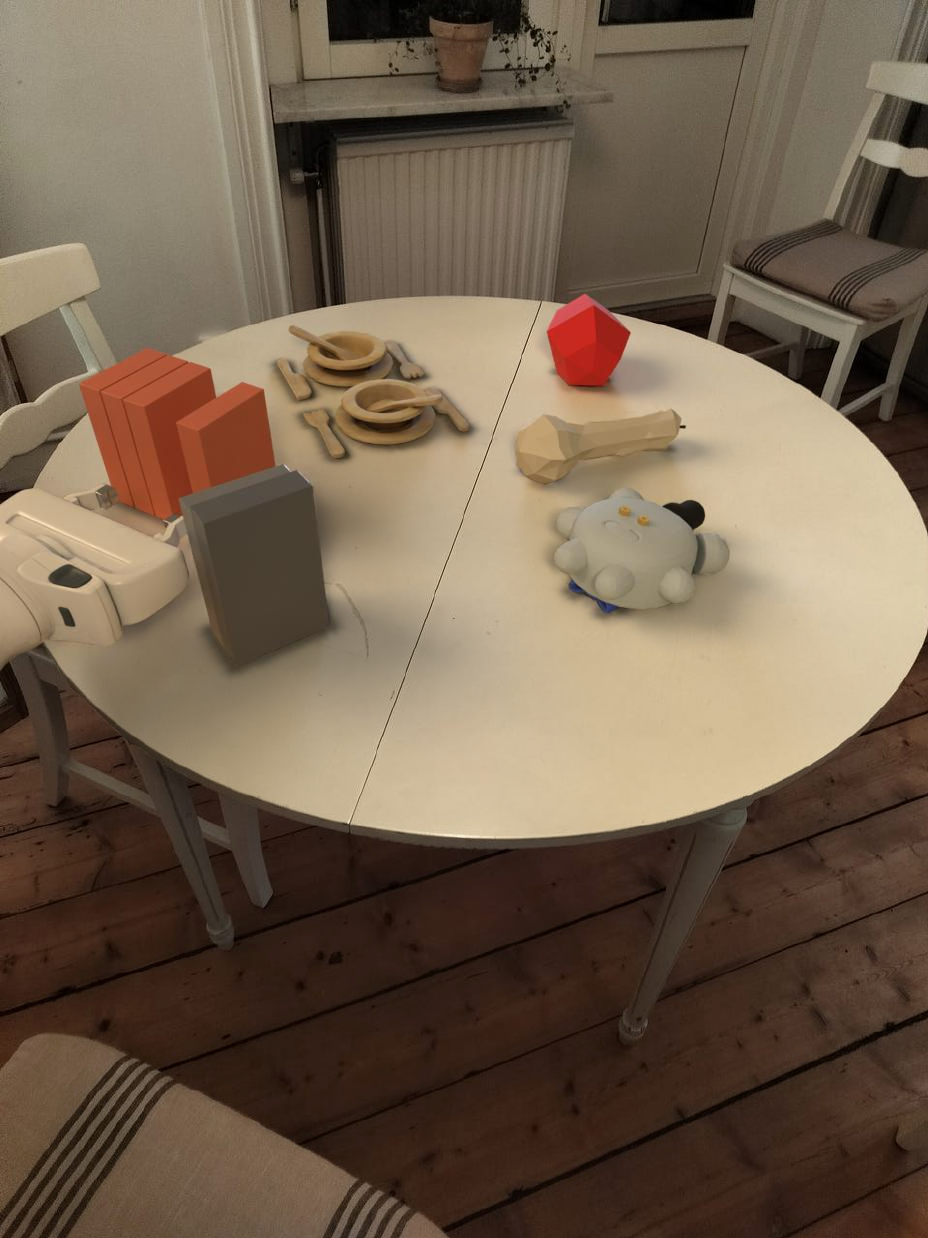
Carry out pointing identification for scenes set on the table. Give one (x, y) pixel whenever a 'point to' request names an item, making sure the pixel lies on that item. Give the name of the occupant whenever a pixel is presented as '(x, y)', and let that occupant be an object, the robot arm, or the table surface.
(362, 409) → the tableware set
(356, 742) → the table surface
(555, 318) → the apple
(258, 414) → the terracotta book
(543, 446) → the faceted club
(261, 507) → the grey books
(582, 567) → the figurine
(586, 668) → the table surface
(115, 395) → the matching books
